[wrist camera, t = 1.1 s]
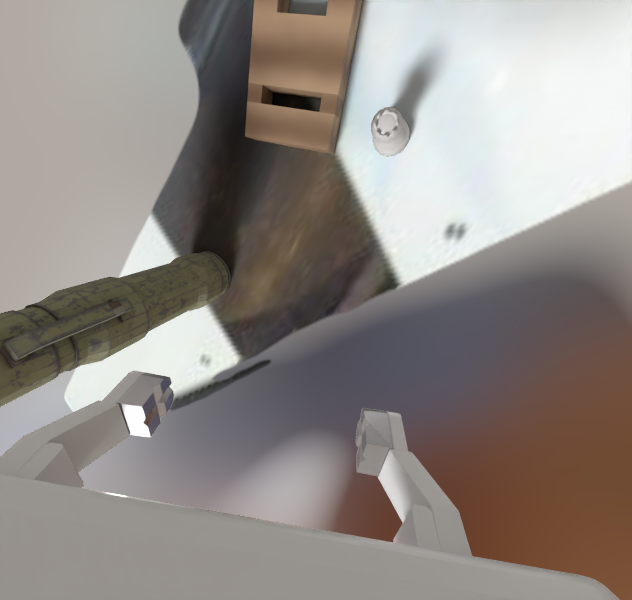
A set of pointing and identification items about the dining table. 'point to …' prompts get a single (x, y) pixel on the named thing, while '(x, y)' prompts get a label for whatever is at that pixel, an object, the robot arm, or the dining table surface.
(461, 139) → the dining table surface
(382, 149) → the rook chess piece
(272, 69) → the block
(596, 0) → the dining table surface
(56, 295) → the thermos
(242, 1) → the dining table surface
